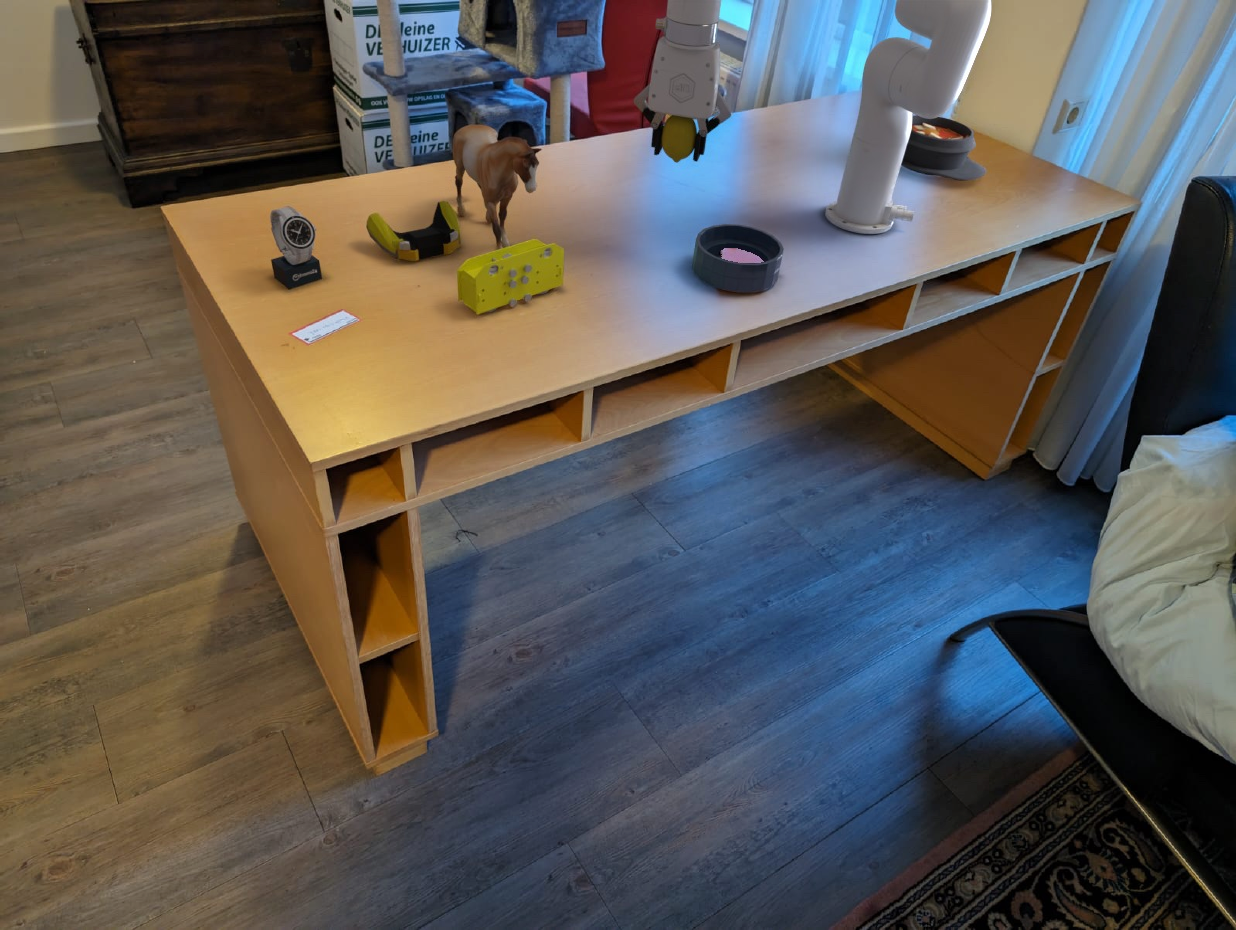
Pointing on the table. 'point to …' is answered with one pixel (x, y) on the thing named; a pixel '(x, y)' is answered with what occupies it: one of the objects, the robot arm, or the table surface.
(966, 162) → the casserole
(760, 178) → the table surface
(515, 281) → the yellow toy chassis
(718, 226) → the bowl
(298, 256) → the watch
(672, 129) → the lemon
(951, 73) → the robot arm
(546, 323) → the table surface
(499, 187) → the horse figurine
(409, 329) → the table surface
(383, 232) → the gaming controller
